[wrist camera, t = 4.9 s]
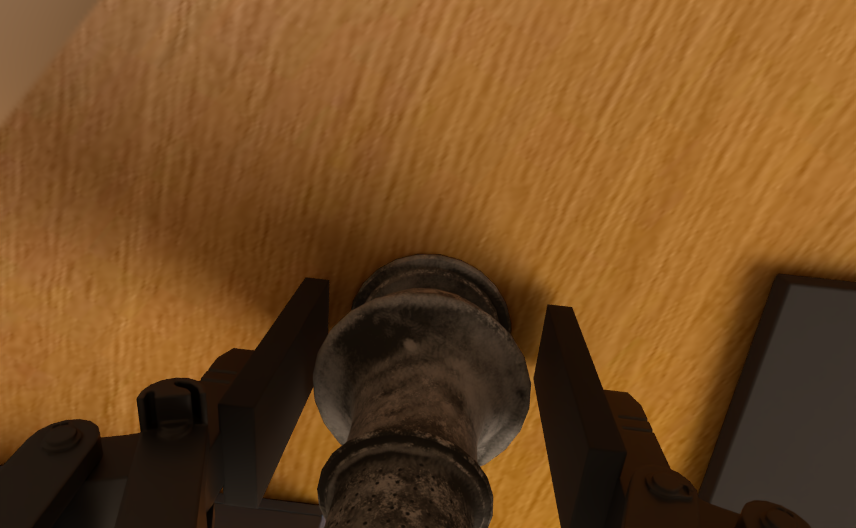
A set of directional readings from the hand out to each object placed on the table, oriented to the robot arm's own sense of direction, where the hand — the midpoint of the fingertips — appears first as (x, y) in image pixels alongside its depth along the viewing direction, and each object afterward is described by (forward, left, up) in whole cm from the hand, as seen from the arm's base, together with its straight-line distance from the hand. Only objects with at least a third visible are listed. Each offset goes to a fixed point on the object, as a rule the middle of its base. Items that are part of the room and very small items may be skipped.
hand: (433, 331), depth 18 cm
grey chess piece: (0, 0, -1) cm, 1 cm away
